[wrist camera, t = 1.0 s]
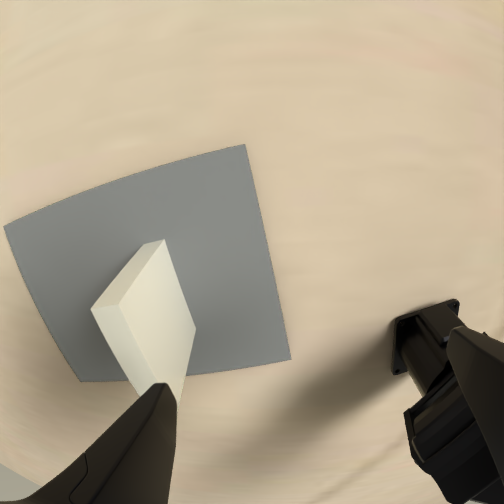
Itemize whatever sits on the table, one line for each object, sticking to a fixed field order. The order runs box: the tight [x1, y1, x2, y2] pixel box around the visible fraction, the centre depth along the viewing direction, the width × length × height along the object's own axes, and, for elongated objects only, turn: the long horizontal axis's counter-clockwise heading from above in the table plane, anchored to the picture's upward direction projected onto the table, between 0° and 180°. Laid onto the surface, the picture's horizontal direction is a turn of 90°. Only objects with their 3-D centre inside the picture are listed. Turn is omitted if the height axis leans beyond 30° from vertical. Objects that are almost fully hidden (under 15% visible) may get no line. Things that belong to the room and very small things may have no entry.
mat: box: [3, 144, 291, 382], centre depth 21 cm, size 16×20×1 cm
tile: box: [91, 239, 196, 413], centre depth 16 cm, size 7×2×8 cm, turn 12°
